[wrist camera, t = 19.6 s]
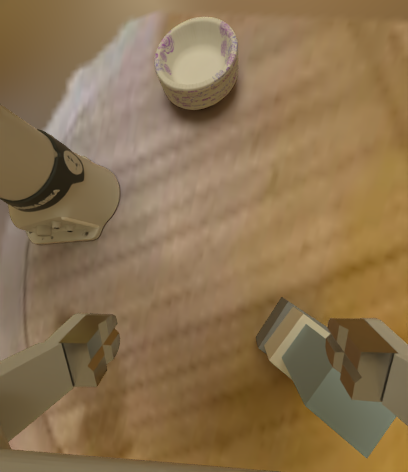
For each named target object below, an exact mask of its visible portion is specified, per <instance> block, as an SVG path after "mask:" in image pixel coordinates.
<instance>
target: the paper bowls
mask: <svg viewBox="0 0 408 472" xmlns="http://www.w3.org/2000/svg"><path fill="white" fill-rule="evenodd" d="M155 70H156V74H157V76H158V78H159V81H160V83H161V85H162V87H163V90H164V92H165V94H166V96H167V97H168V99H169V100H170V101H171V102H172V103H173V104H175V105H177V106H178V107H181V108H184V109H189V110H198V109H203V108H206V107H209V106H212V105H214V104H216V103H217V102H219V101H220V100H221V99H223V98H224V97H225V96H226V95H227V94H228V93H229V92H230V90H231V89H232V88H233V86H234V84H235V82H236V79H237V76H238V42H237V38H236V35H235V33H234V31H233V30H232V28H231V27H230V26H229V25H228V24H227V23H225V22H223V21H222V20H219V19H216V18H212V17H198V18H193V19H189V20H187V21H185V22H182V23H181V24H179V25H177V26H176V27H174V28H173V29H172V30H170V31H169V32H168V33H167V34H166V35H165V37H164V38H163V39H162V41H161V42H160V44H159V46H158V48H157V51H156V54H155Z"/></svg>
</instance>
